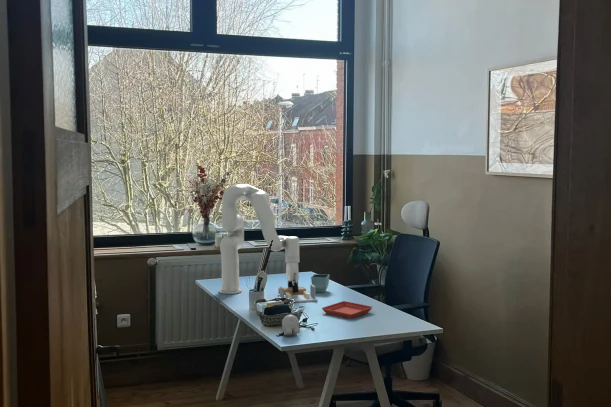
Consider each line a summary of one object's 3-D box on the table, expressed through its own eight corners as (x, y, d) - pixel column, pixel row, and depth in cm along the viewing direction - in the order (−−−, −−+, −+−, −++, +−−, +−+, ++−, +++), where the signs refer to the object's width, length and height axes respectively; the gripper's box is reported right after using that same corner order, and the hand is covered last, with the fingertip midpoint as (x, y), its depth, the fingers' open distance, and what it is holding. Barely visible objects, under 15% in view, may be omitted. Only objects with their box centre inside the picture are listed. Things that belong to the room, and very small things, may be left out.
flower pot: (310, 293, 352) (310, 276, 351) (314, 289, 360) (314, 273, 360) (326, 293, 350) (326, 277, 349) (329, 290, 358) (329, 274, 358)
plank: (278, 295, 348) (278, 288, 347) (303, 293, 352) (303, 286, 351) (281, 297, 342) (280, 290, 342) (306, 296, 346) (306, 288, 345)
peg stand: (278, 297, 340) (277, 284, 339) (310, 295, 345) (310, 283, 344) (283, 303, 327) (283, 290, 327) (317, 301, 332) (317, 288, 332)
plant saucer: (350, 320, 296) (350, 313, 296) (320, 314, 308) (320, 307, 307) (373, 313, 310) (373, 306, 309) (343, 307, 321) (343, 300, 321)
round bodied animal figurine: (294, 336, 279) (292, 317, 281) (302, 333, 268) (300, 312, 271) (278, 337, 277) (276, 318, 279) (285, 334, 266) (283, 314, 268)
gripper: (282, 257, 352) (282, 288, 354) (289, 262, 336) (290, 294, 337) (295, 256, 354) (295, 287, 356) (303, 261, 338) (304, 293, 339)
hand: (293, 290), depth 346 cm, fingers open, 9 cm apart
